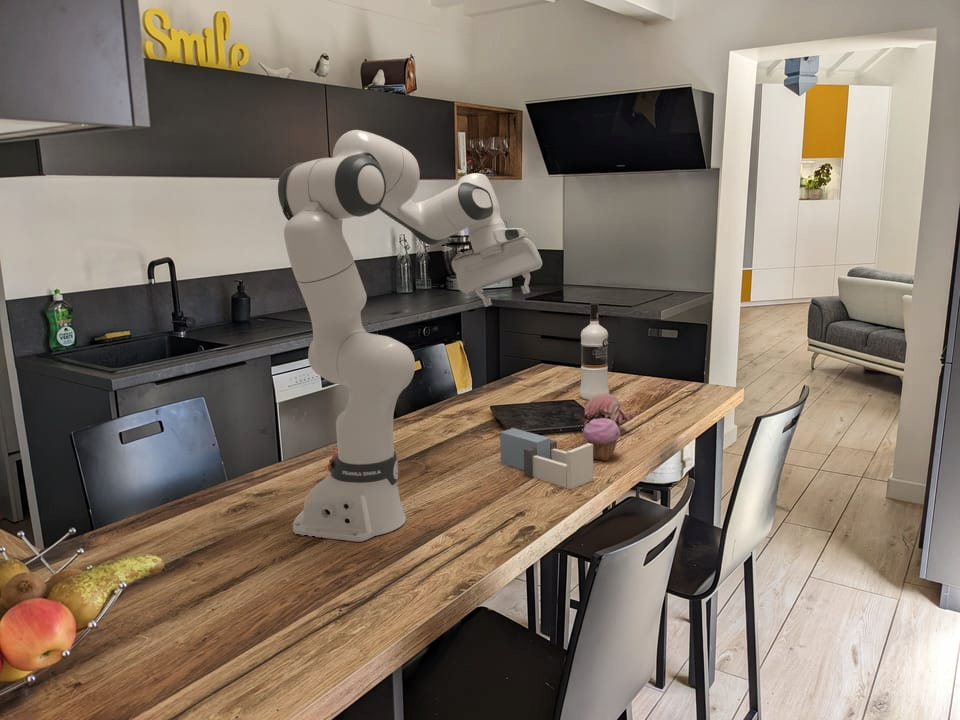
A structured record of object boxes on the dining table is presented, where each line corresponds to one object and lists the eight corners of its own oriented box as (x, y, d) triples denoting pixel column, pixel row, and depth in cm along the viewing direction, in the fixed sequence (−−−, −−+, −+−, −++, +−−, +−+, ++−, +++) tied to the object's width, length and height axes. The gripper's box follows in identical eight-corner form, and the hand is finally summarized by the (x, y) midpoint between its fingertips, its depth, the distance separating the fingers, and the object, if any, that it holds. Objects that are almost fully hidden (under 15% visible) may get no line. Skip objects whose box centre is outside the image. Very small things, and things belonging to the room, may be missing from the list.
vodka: (591, 392, 254) (591, 300, 247) (615, 396, 247) (615, 302, 241) (573, 397, 247) (573, 303, 241) (597, 402, 241) (597, 306, 235)
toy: (628, 438, 201) (638, 419, 215) (615, 399, 200) (626, 383, 213) (585, 448, 206) (597, 429, 220) (572, 410, 205) (585, 393, 218)
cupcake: (577, 459, 191) (576, 420, 189) (594, 449, 198) (594, 411, 196) (609, 466, 186) (610, 426, 184) (626, 456, 193) (626, 416, 191)
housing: (524, 475, 181) (523, 440, 180) (550, 465, 188) (550, 431, 186) (568, 490, 172) (568, 453, 170) (595, 479, 178) (595, 443, 176)
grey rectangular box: (500, 463, 190) (500, 432, 188) (513, 458, 193) (513, 428, 191) (537, 474, 181) (537, 442, 180) (550, 469, 184) (550, 437, 183)
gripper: (445, 255, 181) (462, 312, 180) (528, 226, 177) (546, 284, 176) (453, 258, 188) (469, 313, 187) (533, 230, 183) (550, 287, 182)
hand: (507, 299), depth 181 cm, fingers open, 8 cm apart
